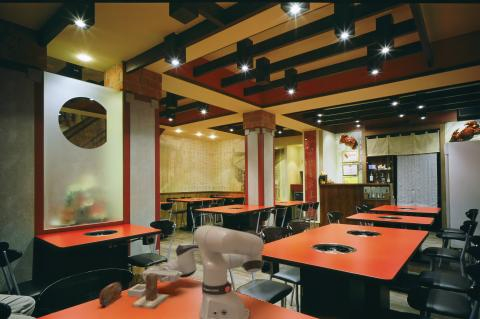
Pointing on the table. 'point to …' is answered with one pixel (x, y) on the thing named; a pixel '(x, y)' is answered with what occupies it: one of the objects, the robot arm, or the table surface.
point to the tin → (110, 294)
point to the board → (150, 304)
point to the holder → (137, 291)
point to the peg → (151, 286)
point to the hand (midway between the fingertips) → (153, 280)
